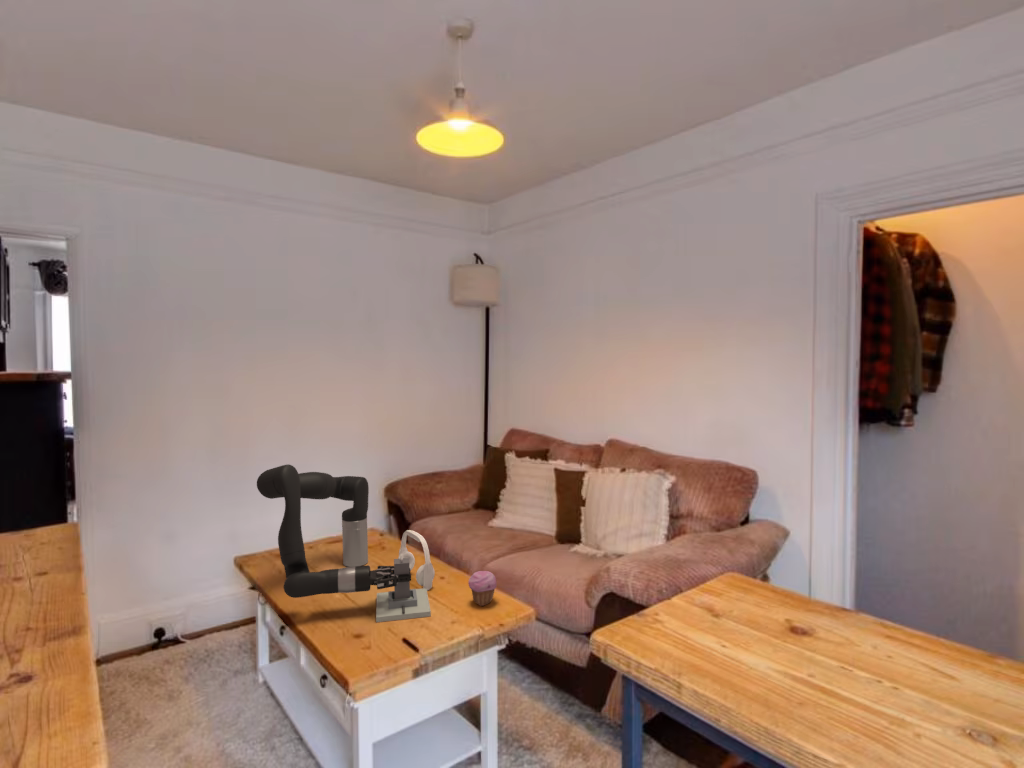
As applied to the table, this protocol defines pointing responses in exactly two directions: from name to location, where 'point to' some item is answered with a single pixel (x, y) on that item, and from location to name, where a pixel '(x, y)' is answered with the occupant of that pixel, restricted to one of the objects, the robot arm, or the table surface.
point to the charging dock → (402, 606)
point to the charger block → (402, 587)
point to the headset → (425, 571)
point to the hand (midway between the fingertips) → (410, 574)
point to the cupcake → (482, 587)
